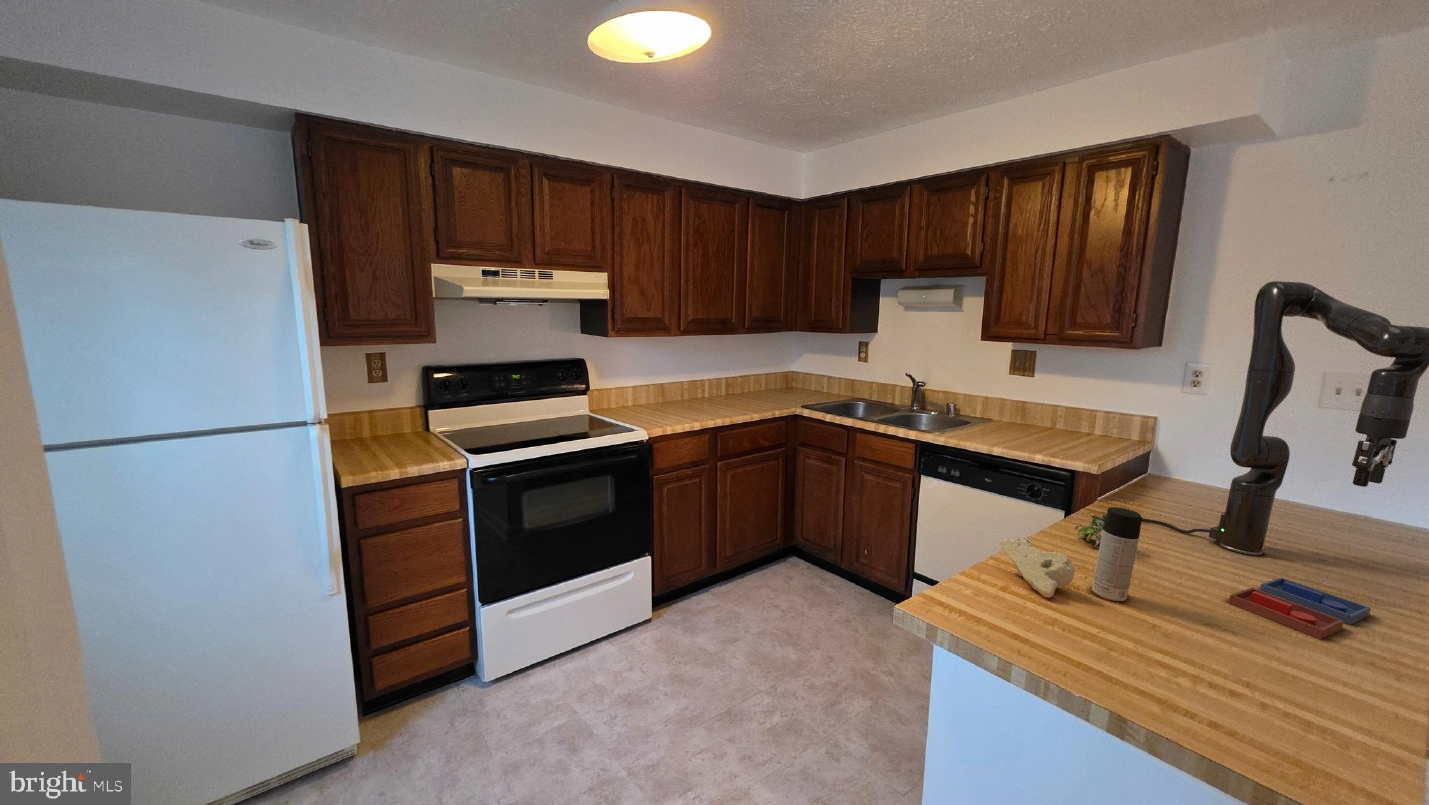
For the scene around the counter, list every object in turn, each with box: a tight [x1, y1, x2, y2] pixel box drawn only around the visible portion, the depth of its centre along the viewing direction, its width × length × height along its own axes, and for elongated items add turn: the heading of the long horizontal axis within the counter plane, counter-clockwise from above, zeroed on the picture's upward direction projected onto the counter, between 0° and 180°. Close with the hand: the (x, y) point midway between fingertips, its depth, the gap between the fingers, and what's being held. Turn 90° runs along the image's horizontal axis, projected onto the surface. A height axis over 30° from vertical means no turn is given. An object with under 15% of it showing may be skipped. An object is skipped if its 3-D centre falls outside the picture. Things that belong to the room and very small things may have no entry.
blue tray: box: [1259, 577, 1372, 626], centre depth 130 cm, size 15×10×2 cm
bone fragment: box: [999, 537, 1075, 599], centre depth 131 cm, size 15×7×15 cm
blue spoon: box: [1282, 581, 1347, 613], centre depth 130 cm, size 10×4×2 cm, turn 26°
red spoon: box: [1250, 591, 1316, 625], centre depth 123 cm, size 10×4×2 cm, turn 26°
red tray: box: [1228, 587, 1344, 640], centre depth 123 cm, size 15×10×2 cm
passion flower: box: [1074, 512, 1107, 549], centre depth 156 cm, size 11×11×12 cm
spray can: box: [1091, 506, 1143, 602], centre depth 127 cm, size 7×7×20 cm
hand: (1366, 484), depth 129 cm, fingers open, 8 cm apart
